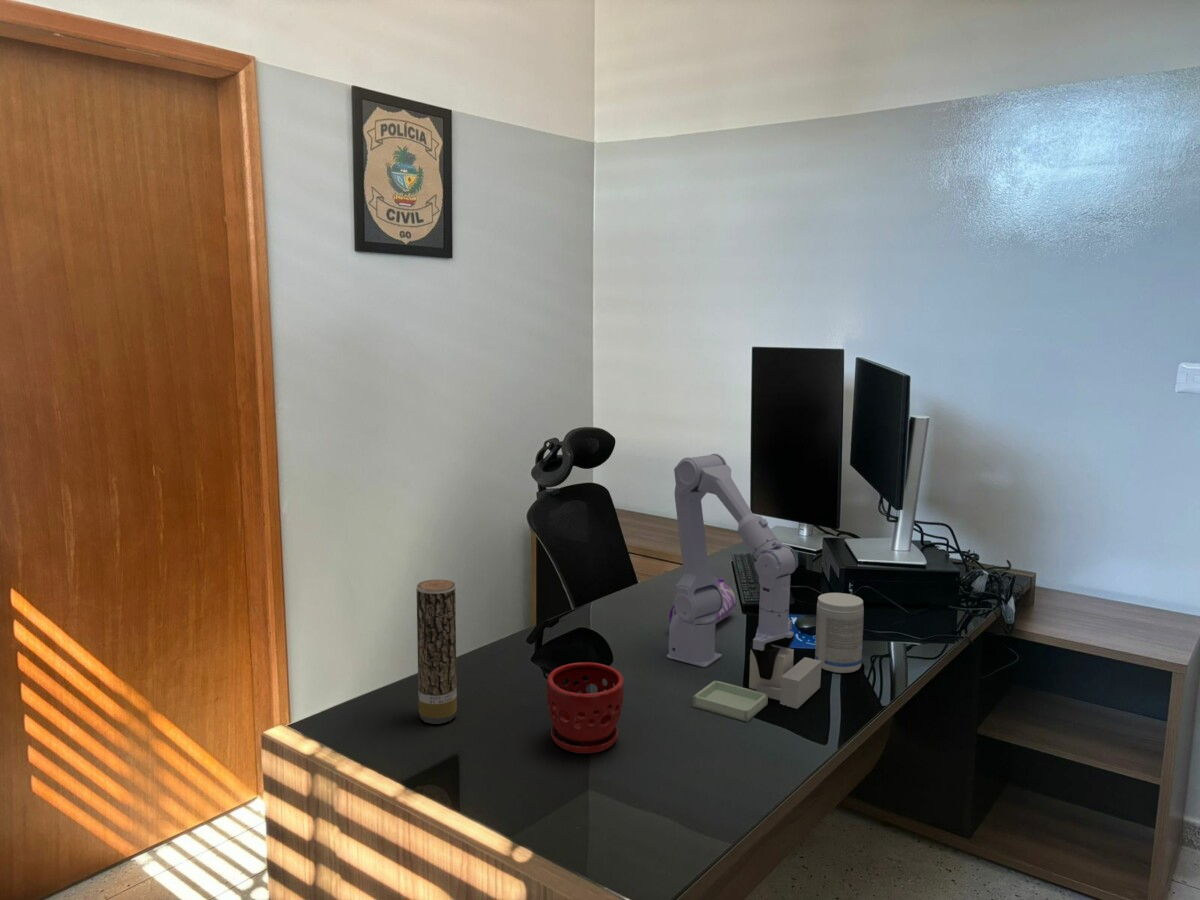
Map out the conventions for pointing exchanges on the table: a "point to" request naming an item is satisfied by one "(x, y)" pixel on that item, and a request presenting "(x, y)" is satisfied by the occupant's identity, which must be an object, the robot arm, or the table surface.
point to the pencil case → (727, 607)
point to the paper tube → (436, 648)
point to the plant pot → (585, 706)
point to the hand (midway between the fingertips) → (771, 673)
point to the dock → (796, 683)
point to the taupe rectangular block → (780, 668)
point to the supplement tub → (839, 632)
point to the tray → (730, 700)
